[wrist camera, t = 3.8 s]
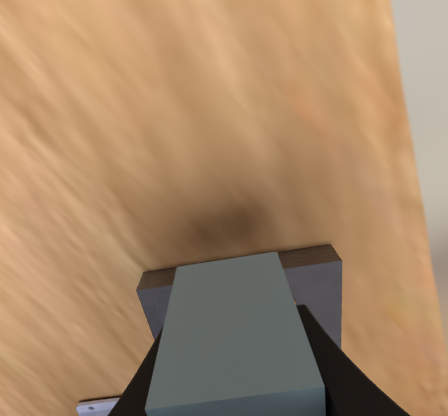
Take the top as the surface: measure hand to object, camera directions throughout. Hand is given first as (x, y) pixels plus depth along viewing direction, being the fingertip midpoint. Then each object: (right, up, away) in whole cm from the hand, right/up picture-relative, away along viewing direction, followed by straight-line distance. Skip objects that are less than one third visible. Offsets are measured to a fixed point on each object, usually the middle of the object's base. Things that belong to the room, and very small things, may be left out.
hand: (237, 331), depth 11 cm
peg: (0, +1, +2) cm, 2 cm away
